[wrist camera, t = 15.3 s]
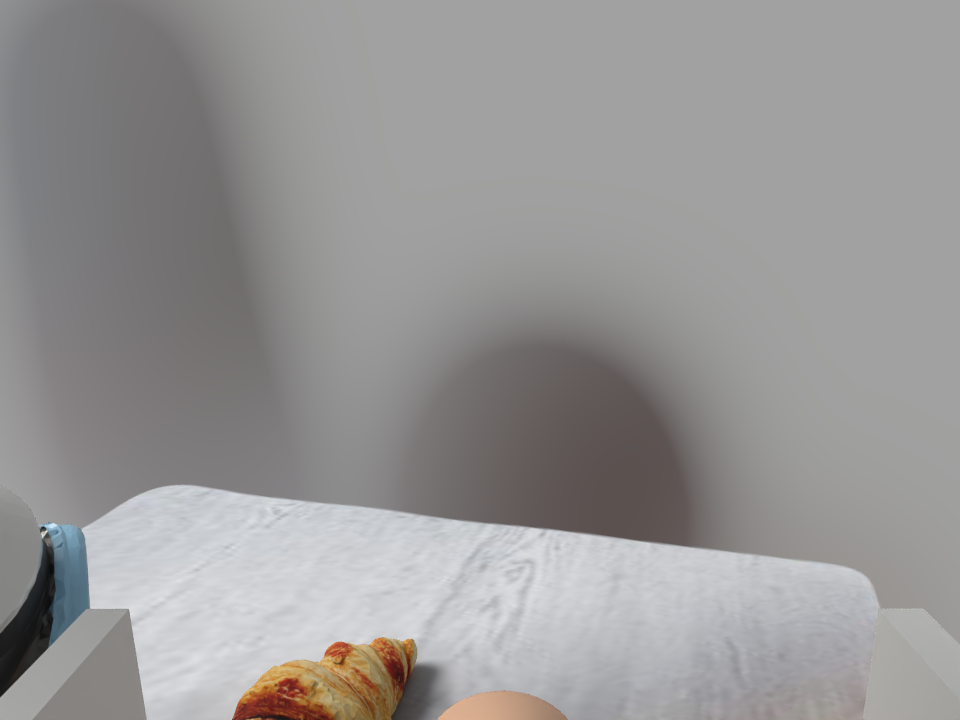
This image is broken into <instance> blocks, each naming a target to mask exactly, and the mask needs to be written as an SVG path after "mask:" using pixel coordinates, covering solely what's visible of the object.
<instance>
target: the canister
mask: <svg viewBox="0 0 960 720" xmlns="http://www.w3.org/2000/svg"><path fill="white" fill-rule="evenodd" d="M438 720H568V719H567V718H566V717H565V716H564V715H563V714H562V713H561V712H560V711H559V710H558V709H557V708H555V707H554V706H553V705H551V704H549V703H548V702H546V701H544V700H542V699H539V698H537V697H534V696H531V695H528V694H524V693H519V692H512V691H493V692H485V693H481V694H477V695H474V696H471V697H468V698H465V699H463V700H461V701H459V702H457V703H456V704H454V705H452V706H451V707H450V708H449V709H447V710H446V711H445V712H444V713H443V714H442V715H441V716H440V717H439V718H438Z"/></svg>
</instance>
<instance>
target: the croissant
mask: <svg viewBox="0 0 960 720" xmlns="http://www.w3.org/2000/svg"><path fill="white" fill-rule="evenodd" d="M416 659H417V647H416V644H415V642H414V640H413V639H407V640H405V641H403V642H401V641H400V640H395V639H387V638H385V637H382V638H377V639H375V640H374V641H373V642H372V643H371V644H370V645H366V644H362V645H357V646H356V645H354V644H350V643H344V642H336V643H334V644H333V645H331V646H330V647H329V648H328V649H327V650H326V652H325V656H324V658H323V659H322V660H321V662H320V663H319V662H312V661H308V660H296V661H291V662H287V663H285V664H283V665H280V666H279V667H277V666H274V667H272V668H271V669H270V670H269V671H267V672H266V673H264V674H263V675H262V676H261V678H260V679H259V680H258V682H257V683H256V684H255V685H254V686H253V687H252V688H250V689H249V690H248V691H247V692H246V693H245V694H244V695H243V697H242V698H241V699H240V701H239V703H238V704H237V708H236V711H235V714H234V717H233V719H232V720H391V716H392V715H393V714H394V712H395V710H396V707H397V704H398V703H399V701H400V700H401V698H402V694H403V691H404V686H405V682H407V681H408V679H409V677H410V676H411V674H412V670H413V668H414V665H415V662H416Z"/></svg>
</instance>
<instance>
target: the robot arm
mask: <svg viewBox="0 0 960 720" xmlns="http://www.w3.org/2000/svg"><path fill="white" fill-rule="evenodd" d="M0 720H147V719H146V713H145V707H144V700H143V694H142V688H141V682H140V675H139V669H138V663H137V657H136V651H135V644H134V638H133V632H132V626H131V619H130V613H129V609H90V600H89V583H88V567H87V554H86V544H85V537H84V534H83V532H82V530H81V529H80V528H78V527H76V526H73V525H68V524H67V525H56V524H54V523H48V524H41V525H38V523H37V521H36V519H35V517H34V515H33V513H32V511H31V509H30V508H29V507H28V505H27V504H26V503H25V502H24V501H23V500H22V499H21V498H20V497H19V496H17V495H16V494H15V493H13V492H12V491H11V490H9V489H7V488H5V487H3V486H1V485H0ZM863 720H960V645H959V644H958V643H957V642H956V641H955V640H954V639H953V638H952V637H951V636H950V635H949V634H948V633H947V632H946V631H945V630H944V629H943V628H942V627H941V626H940V625H939V624H938V623H937V622H936V621H935V620H934V619H933V618H932V617H931V616H930V615H929V614H928V613H927V612H926V611H925V610H924V609H878V614H877V621H876V628H875V635H874V642H873V650H872V657H871V664H870V671H869V678H868V685H867V693H866V700H865V707H864V714H863Z"/></svg>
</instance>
